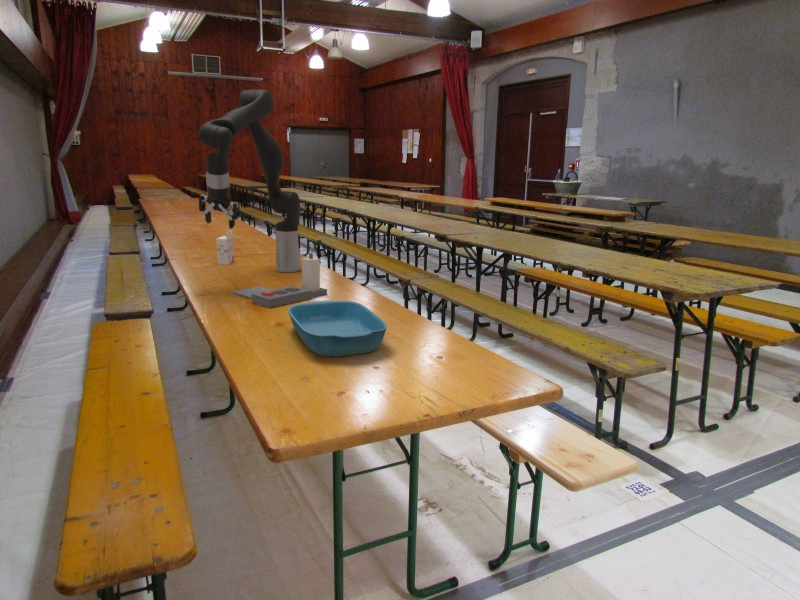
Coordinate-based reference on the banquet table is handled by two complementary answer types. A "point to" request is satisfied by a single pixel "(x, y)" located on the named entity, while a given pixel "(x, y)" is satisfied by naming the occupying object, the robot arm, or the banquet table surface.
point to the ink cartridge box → (225, 249)
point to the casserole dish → (337, 327)
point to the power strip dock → (285, 296)
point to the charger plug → (311, 273)
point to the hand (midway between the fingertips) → (220, 225)
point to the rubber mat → (250, 291)
